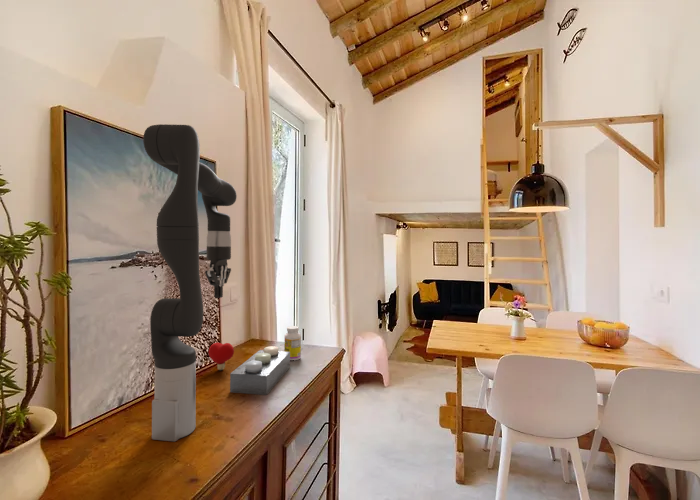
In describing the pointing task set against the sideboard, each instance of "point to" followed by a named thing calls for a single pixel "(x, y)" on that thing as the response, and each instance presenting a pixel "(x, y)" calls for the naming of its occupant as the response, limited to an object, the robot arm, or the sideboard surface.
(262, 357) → the cap mid
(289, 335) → the supplement bottle
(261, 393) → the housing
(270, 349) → the cap far
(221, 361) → the red heart
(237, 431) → the sideboard surface
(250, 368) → the cap near
